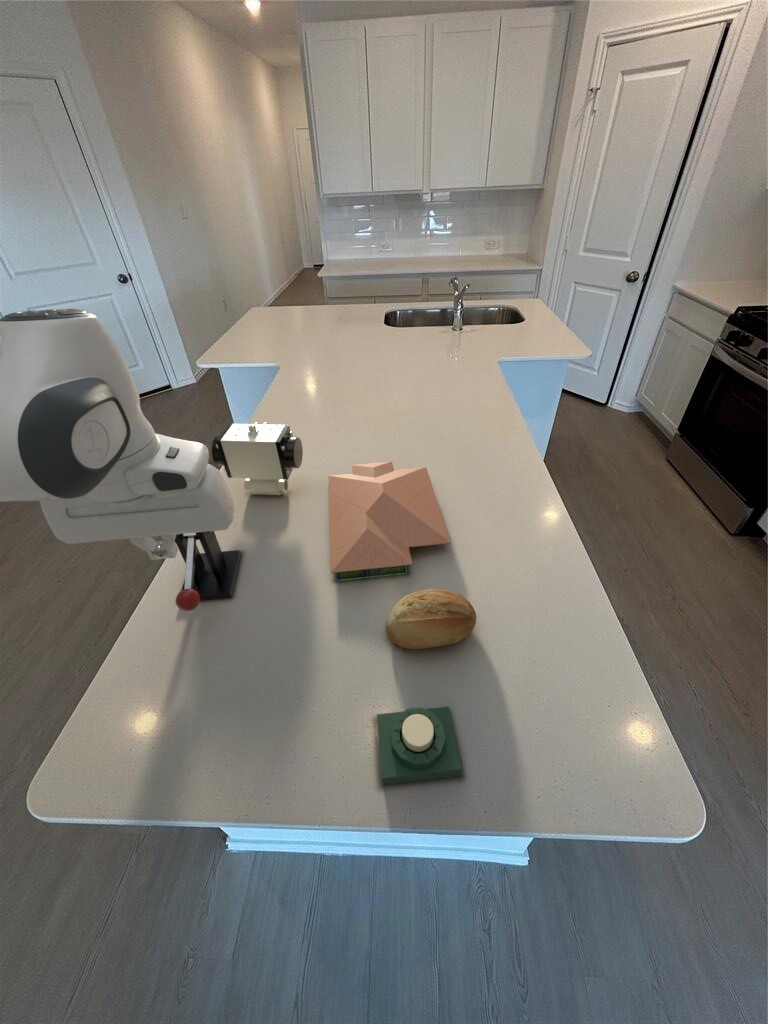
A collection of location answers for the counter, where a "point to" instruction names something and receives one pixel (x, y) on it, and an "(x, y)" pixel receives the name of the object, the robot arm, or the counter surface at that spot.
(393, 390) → the counter surface
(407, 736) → the button
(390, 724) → the control block
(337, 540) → the house
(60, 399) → the robot arm
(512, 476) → the counter surface
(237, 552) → the bracket
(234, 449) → the ball valve
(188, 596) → the lever
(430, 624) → the bread roll
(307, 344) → the counter surface
